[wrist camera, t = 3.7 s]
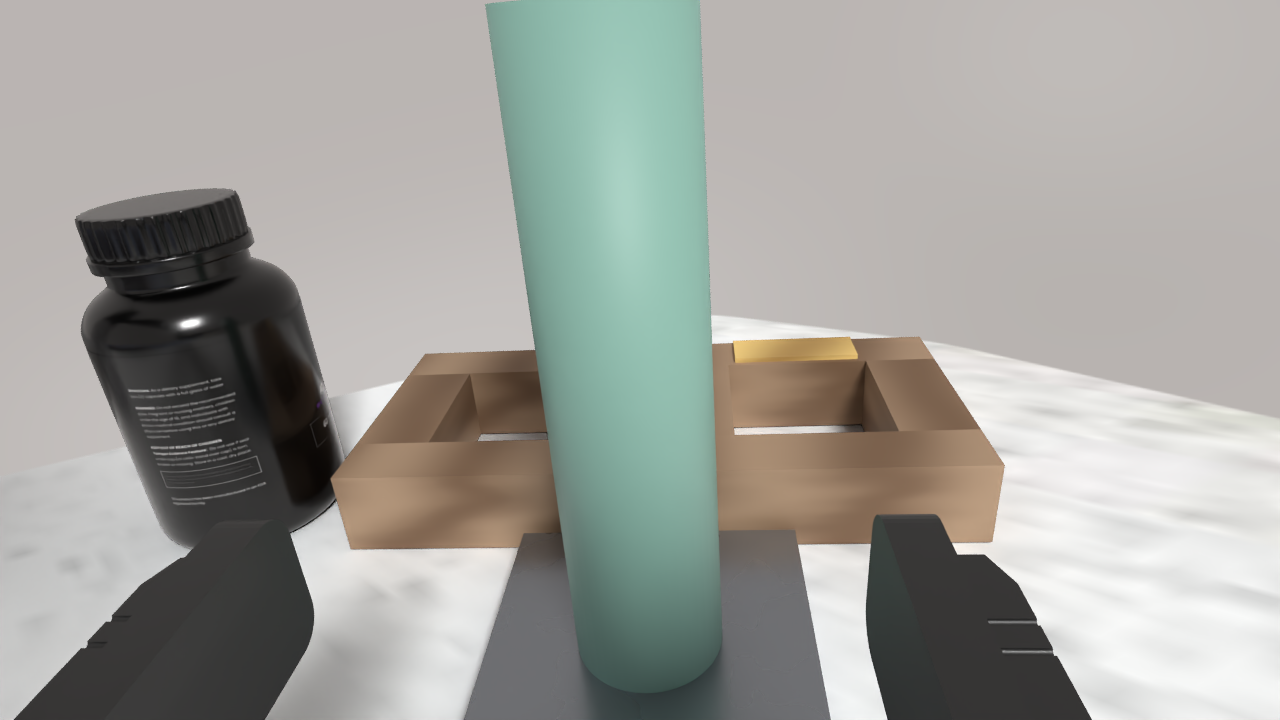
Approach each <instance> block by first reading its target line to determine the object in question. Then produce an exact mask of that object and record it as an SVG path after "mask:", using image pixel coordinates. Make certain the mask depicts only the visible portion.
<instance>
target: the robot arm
mask: <svg viewBox="0 0 1280 720" xmlns="http://www.w3.org/2000/svg"><path fill="white" fill-rule="evenodd" d="M313 625H314V608H313V603H312V599H311V596H310V593H309V590H308V587H307V584H306V581H305V578H304V575H303V572H302V569H301V566H300V563H299V560H298V557H297V554H296V551H295V548H294V545H293V542H292V539H291V535H290V533H289V530H288V528H287V527H286V525H285V524H284V523H283V522H281V521H280V520H224V521H221V522H219V523H217V524H215V525H214V526H213V527H212V528H211V529H210V530H209V531H208V533H207V534H206V535H205V536H204V537H203V538H202V539H201V540H200V541H199V542H198V544H197V545H196V546H195V547H194V548H193V549H192V550H191V551H190V552H189V553H188V554H187V556H186V557H185V558H180V559H178V560H177V561H175V562H174V563H172V564H171V565H169V566H168V567H166V568H165V569H163V570H162V571H160V572H159V573H157V574H156V575H155V576H153V577H152V578H150V579H149V580H147V581H146V582H144V583H143V584H141V585H140V586H139V587H138V588H137V590H136V591H135V592H134V593H133V594H132V595H131V596H130V597H129V598H128V599H127V600H126V601H125V602H124V603H123V604H122V605H121V606H120V608H119V609H118V610H117V611H116V612H115V613H114V614H113V615H112V620H111V622H105V623H104V625H103V626H102V627H101V628H100V629H99V630H98V631H97V632H96V633H95V634H94V635H93V636H92V637H91V638H90V639H89V640H88V641H87V642H88V645H87V647H86V648H81V649H80V650H79V651H78V652H77V653H76V654H75V655H74V656H73V657H72V658H71V659H70V661H69V662H68V663H67V664H66V665H65V666H64V667H63V668H62V669H61V670H60V671H59V672H58V673H57V674H56V675H55V676H54V677H53V679H52V680H51V681H50V682H49V683H48V684H47V685H46V686H45V687H44V688H43V689H42V690H41V691H40V692H39V693H38V694H37V695H36V697H35V698H34V699H33V700H32V701H31V702H30V703H29V704H28V705H27V706H26V707H25V708H24V709H23V710H22V711H21V712H20V713H19V715H18V716H17V717H16V718H15V719H14V720H265V718H266V717H267V715H268V713H269V712H270V710H271V708H272V707H273V705H274V703H275V702H276V700H277V698H278V696H279V695H280V693H281V691H282V690H283V688H284V686H285V685H286V683H287V681H288V680H289V678H290V676H291V675H292V673H293V671H294V670H295V668H296V666H297V665H298V663H299V661H300V660H301V658H302V656H303V655H304V653H305V651H306V649H307V647H308V645H309V642H310V639H311V636H312V631H313ZM866 626H867V636H868V643H869V649H870V654H871V658H872V662H873V666H874V669H875V673H876V677H877V681H878V685H879V688H880V692H881V696H882V700H883V704H884V707H885V711H886V715H887V719H888V720H1092V719H1091V717H1090V715H1089V714H1088V712H1087V710H1086V708H1085V706H1084V704H1083V703H1082V701H1081V699H1080V697H1079V695H1078V693H1077V692H1076V690H1075V688H1074V686H1073V684H1072V682H1071V681H1070V679H1069V677H1068V675H1067V673H1066V671H1065V670H1064V668H1063V666H1062V664H1061V662H1060V660H1059V659H1058V657H1057V656H1054V654H1053V648H1052V646H1051V644H1050V642H1049V640H1048V638H1047V637H1046V635H1045V633H1044V631H1043V629H1042V627H1041V626H1038V625H1037V618H1036V616H1035V614H1034V613H1033V611H1032V609H1031V607H1030V605H1029V603H1028V602H1027V600H1026V598H1025V596H1024V594H1023V592H1022V591H1021V589H1020V587H1019V585H1018V584H1017V583H1016V582H1015V581H1014V580H1013V579H1012V578H1011V577H1009V576H1008V575H1007V574H1006V573H1005V572H1004V571H1003V570H1001V569H1000V568H999V567H998V566H997V565H996V564H995V563H993V562H992V561H991V560H990V559H989V558H988V557H987V556H985V555H957V553H956V551H955V549H954V547H953V545H952V543H951V540H950V538H949V536H948V534H947V532H946V530H945V528H944V525H943V523H942V521H941V519H940V518H939V517H938V515H936V514H881V515H876V516H875V518H874V521H873V527H872V538H871V550H870V562H869V574H868V586H867V598H866Z"/></svg>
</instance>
